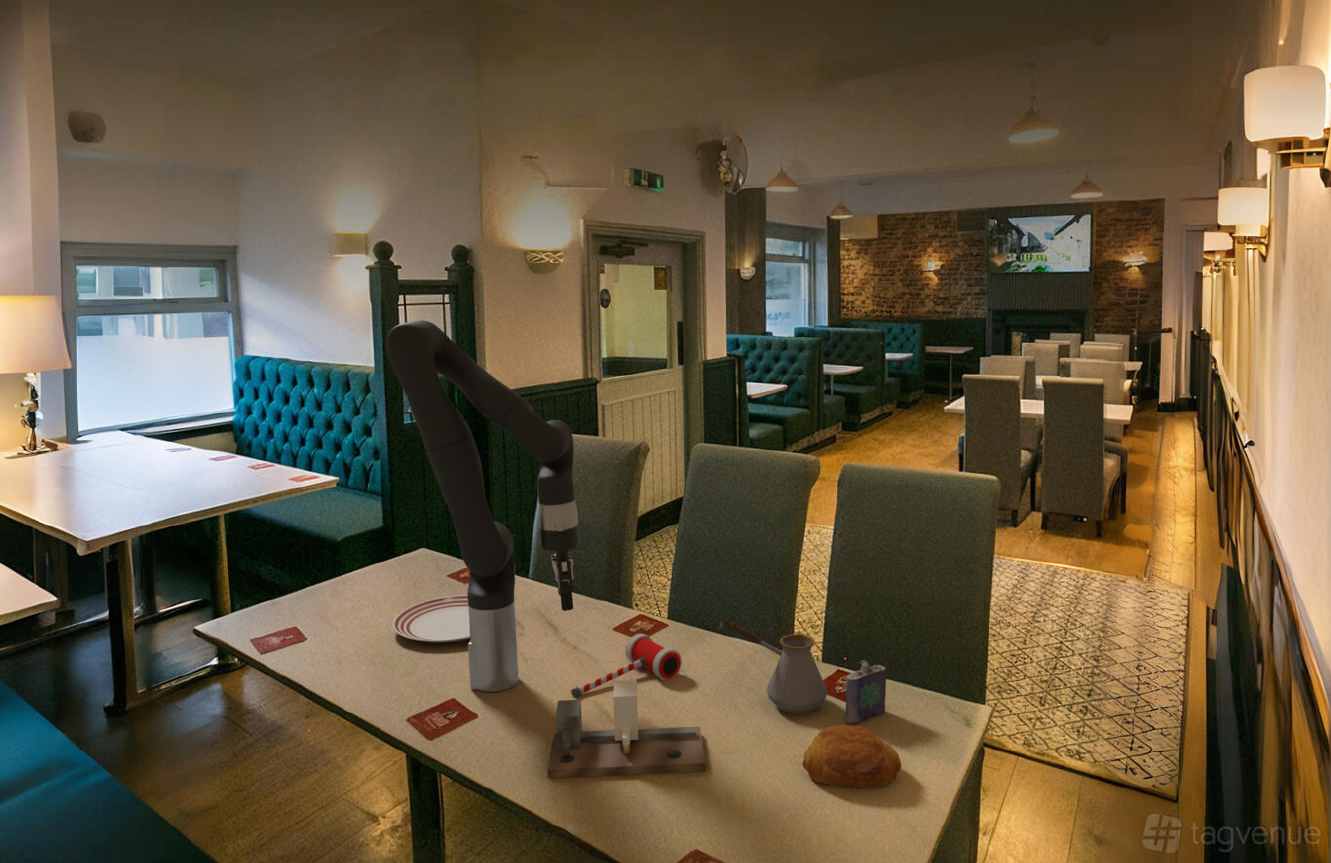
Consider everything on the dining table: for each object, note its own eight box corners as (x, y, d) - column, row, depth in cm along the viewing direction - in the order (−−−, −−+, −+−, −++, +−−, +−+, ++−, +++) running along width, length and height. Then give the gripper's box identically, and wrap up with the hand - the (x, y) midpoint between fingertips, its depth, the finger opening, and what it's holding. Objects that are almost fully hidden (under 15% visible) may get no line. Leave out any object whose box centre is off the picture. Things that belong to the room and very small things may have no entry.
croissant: (900, 810, 134) (908, 765, 132) (800, 790, 136) (807, 745, 134) (891, 758, 148) (899, 716, 146) (801, 741, 150) (807, 699, 148)
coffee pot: (833, 696, 167) (834, 623, 164) (818, 724, 156) (819, 646, 154) (730, 678, 175) (730, 608, 173) (709, 702, 165) (708, 629, 163)
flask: (851, 726, 155) (852, 671, 153) (840, 720, 158) (841, 665, 156) (888, 713, 160) (890, 659, 158) (877, 707, 162) (878, 653, 160)
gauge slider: (614, 753, 143) (613, 706, 142) (615, 725, 152) (614, 680, 151) (638, 752, 143) (637, 705, 142) (638, 724, 153) (636, 680, 151)
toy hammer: (589, 710, 164) (588, 678, 163) (558, 688, 173) (557, 658, 172) (682, 675, 178) (682, 646, 177) (649, 657, 187) (648, 629, 186)
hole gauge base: (547, 777, 141) (545, 735, 139) (554, 740, 152) (552, 700, 151) (705, 771, 142) (705, 729, 140) (699, 734, 153) (699, 695, 152)
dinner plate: (498, 650, 192) (497, 636, 191) (376, 652, 192) (375, 638, 192) (520, 605, 219) (519, 593, 218) (413, 607, 219) (412, 595, 219)
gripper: (537, 516, 173) (544, 592, 176) (541, 535, 159) (549, 617, 162) (574, 512, 175) (581, 587, 177) (581, 530, 161) (588, 612, 164)
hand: (565, 602), depth 170 cm, fingers open, 8 cm apart
